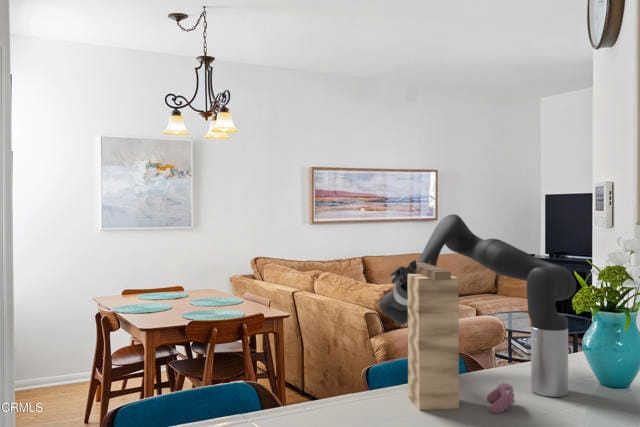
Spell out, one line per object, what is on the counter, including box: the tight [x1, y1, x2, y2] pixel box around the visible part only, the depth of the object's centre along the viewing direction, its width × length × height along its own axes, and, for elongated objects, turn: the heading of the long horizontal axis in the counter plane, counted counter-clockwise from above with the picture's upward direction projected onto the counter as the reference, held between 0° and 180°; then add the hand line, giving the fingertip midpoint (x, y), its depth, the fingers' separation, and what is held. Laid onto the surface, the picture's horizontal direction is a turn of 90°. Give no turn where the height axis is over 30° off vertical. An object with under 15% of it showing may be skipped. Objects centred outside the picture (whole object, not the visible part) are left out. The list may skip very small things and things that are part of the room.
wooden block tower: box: [407, 274, 460, 411], centre depth 153 cm, size 10×10×32 cm
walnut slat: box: [408, 262, 452, 280], centre depth 155 cm, size 22×4×2 cm, turn 7°
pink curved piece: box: [486, 382, 516, 414], centre depth 149 cm, size 10×5×7 cm, turn 169°
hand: (423, 263), depth 160 cm, fingers closed on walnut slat, 4 cm apart
